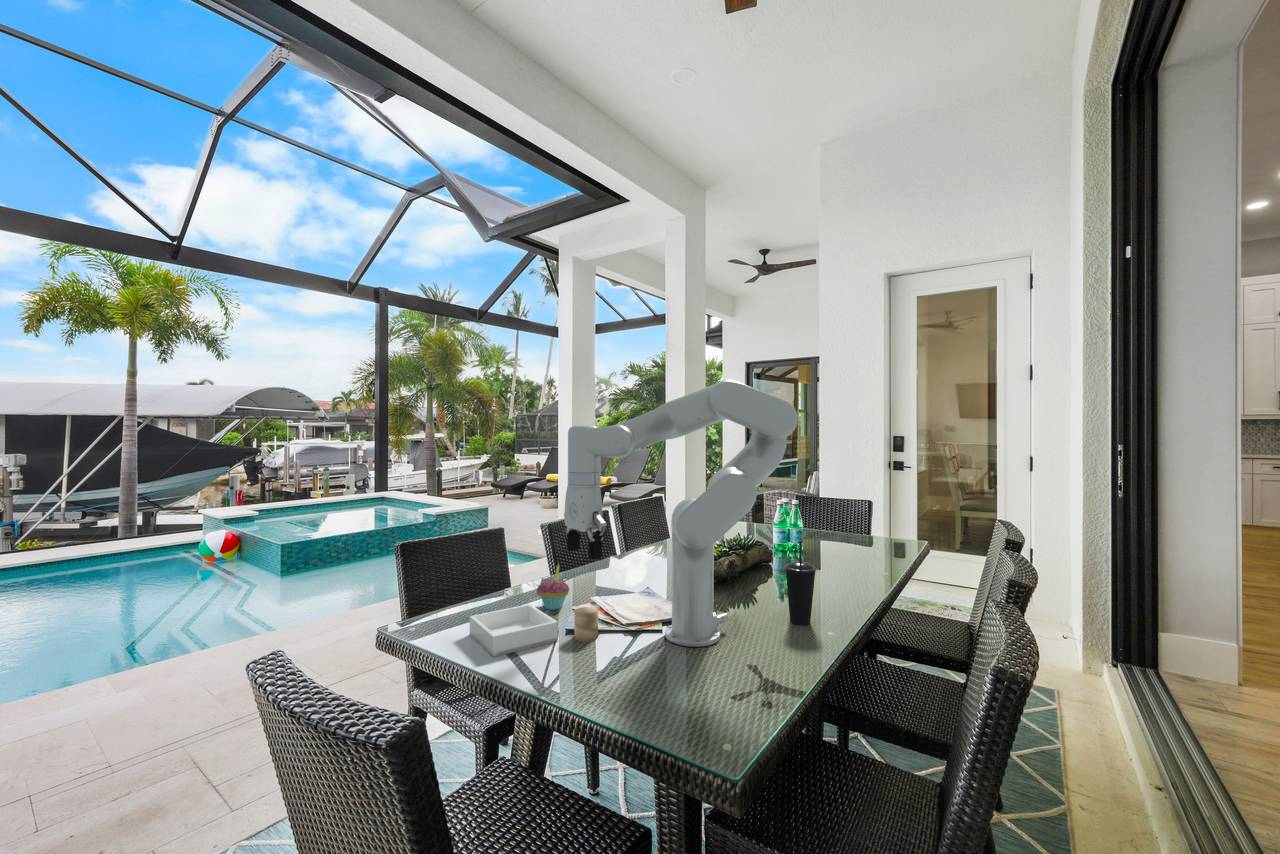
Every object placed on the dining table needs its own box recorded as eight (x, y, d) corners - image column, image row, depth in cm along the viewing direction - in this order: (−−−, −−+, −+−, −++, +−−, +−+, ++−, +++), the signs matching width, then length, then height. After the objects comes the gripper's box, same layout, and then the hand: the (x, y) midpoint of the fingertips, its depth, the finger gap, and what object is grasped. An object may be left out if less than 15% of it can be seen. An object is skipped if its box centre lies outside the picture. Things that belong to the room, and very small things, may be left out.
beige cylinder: (590, 630, 132) (590, 605, 132) (602, 638, 127) (602, 611, 127) (570, 635, 129) (570, 609, 129) (581, 643, 124) (581, 616, 124)
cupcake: (575, 605, 150) (575, 560, 150) (554, 614, 143) (554, 567, 143) (551, 599, 154) (551, 556, 154) (529, 608, 147) (529, 563, 147)
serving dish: (529, 621, 138) (529, 603, 138) (557, 640, 126) (557, 621, 125) (469, 634, 129) (469, 616, 129) (493, 657, 117) (493, 636, 117)
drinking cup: (782, 625, 136) (782, 543, 136) (786, 614, 143) (786, 537, 143) (814, 629, 133) (815, 545, 133) (817, 619, 140) (818, 539, 140)
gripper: (552, 477, 132) (552, 549, 133) (589, 484, 118) (589, 564, 119) (579, 475, 137) (579, 545, 137) (618, 482, 123) (618, 559, 123)
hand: (584, 554), depth 128 cm, fingers open, 9 cm apart
